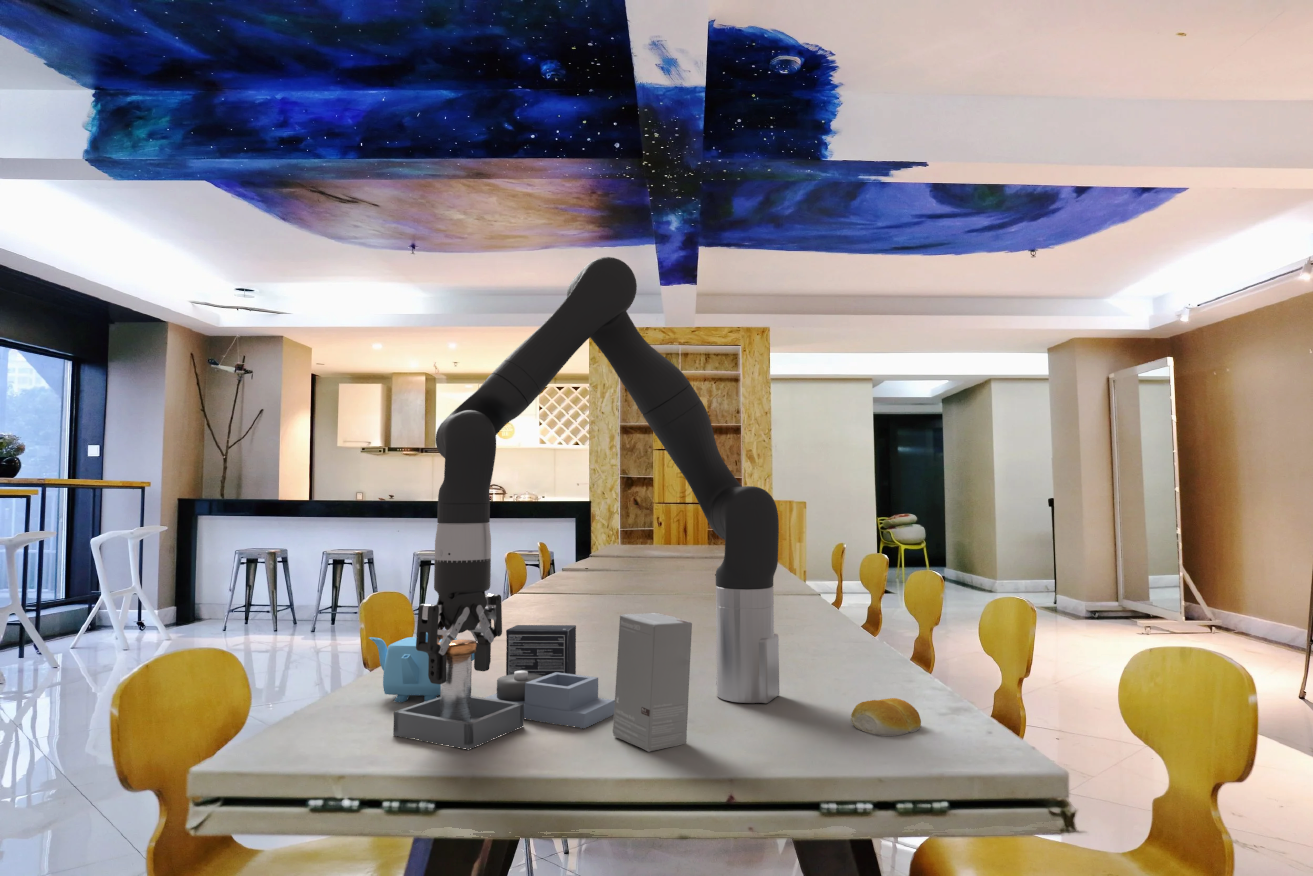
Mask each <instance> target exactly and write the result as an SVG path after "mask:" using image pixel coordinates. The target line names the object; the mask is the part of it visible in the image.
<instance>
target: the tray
mask: <svg viewBox="0 0 1313 876" xmlns="http://www.w3.org/2000/svg"><path fill="white" fill-rule="evenodd" d="M524 721H525V719H524V704H522V703H516V702H509V701H502V700H496V699H489V698H484V697H483V696H482V697H480V696H476V695H471V722H464V721H458V720H452V719H447V718H441V717H440V696H439V697H438V696H437V698H435V699H432V700H429V701H426V702H424V701H423V702H421V703H417V704H414V705H409V706H408V707H404V708H401V709H398V710H395V711H394V712H393V729H392V730H393V732H392V734H393V735H395V736H394V737H397V736H401V737H400V738H402V737H407V738H415V739H419V740H422V741H421V742H423V741H428V742H433V743H437V744H436V745H438V744H443V745H449V746H454V747H460V748H466V749H470V748H473V747H475V746H477V745H480V744H482V743H485V742H487V741H490V740H491V739H493V738H496V737H498V736H500V735H503V734H505V733H508V732H511V731H513V732H515V731H516V730H515V729H517V728H520V727H522V726H524V727H525V723H524ZM522 728H523V727H522ZM520 729H521V728H520ZM514 730H515V731H514ZM511 733H512V732H511ZM508 734H509V733H508ZM393 735H392V736H393ZM407 738H406V739H407ZM428 742H427V743H428ZM490 742H491V741H490ZM433 743H432V744H433ZM487 743H488V742H487ZM485 744H486V743H485ZM443 745H442V746H443ZM480 746H481V745H480ZM473 749H474V748H473Z"/></svg>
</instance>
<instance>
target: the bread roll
mask: <svg viewBox="0 0 1313 876" xmlns="http://www.w3.org/2000/svg"><path fill="white" fill-rule="evenodd" d="M850 716H851V717H850V722H851V723H852V725H853V727H854V728H856V729H857V730H860V731H862V732H865V733H868V734H870V735H876V736H885V737H887V736H889V737H890V736H891V737H894V736H902V735H905V734H907V733H910V734H911V733H914V732H917V731H918V730H919V729H921V726H922V725H921V724H922V720H921V716H920V714H919V712H918V710H917V709H916V708H915V707H914V706H913V705H912V704H911V703H909V702H908V701H906V700H903V699H901V698H897V697H891V698H883V699H872V700H866V701H861V702H858V704H856V705H855V707H854V708H853V710H852V712H851V715H850Z"/></svg>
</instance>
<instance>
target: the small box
mask: <svg viewBox="0 0 1313 876" xmlns="http://www.w3.org/2000/svg"><path fill="white" fill-rule="evenodd" d="M576 629H577V625H575V624H571V625H570V624H569V625H568V624H564V625H563V624H562V625H560V624H554V625H553V624H516V625H514V626H512V627H510V628H508V629H506V630H505V636H506V640H505V641H506V646H505V647H506V649H505V651H506V652H505V654H506V655H505V662H506V663H505V668H506V669H505V670H506V671H505V676H506V675H512V674H514V672H515V671H528V674H538V675H541V676H546V675H549V674H552V673H555V672H559V673H567V674H575V675H577V655H576V654H577V653H576V652H577V646H576V644H577V630H576Z"/></svg>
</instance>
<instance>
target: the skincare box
mask: <svg viewBox="0 0 1313 876" xmlns="http://www.w3.org/2000/svg"><path fill="white" fill-rule="evenodd" d="M692 629H693V623H692V622H691V621H689V620H685V619H682V618H678V617H677V616H673V615H666V614H662V613H658V612H648V613H647V612H646V613H624V614H620V615H619V627H618V643H617V656H616V657H617V658H616V659H617V660H616V672H615V673H616V676H615V688H614V689H615V692H614V693H615V694H614V700H615V706H614V715H613V723H612V724H613V726H612V734H613V737H615V738H616V739H620V740H622V741H624V742H627V743H629V744H631V745H633V746H636V747H639V748H640V749H643V750H645V751H647V752H650V753H651V752H654V751H658V750H662V749H667V748H672V747H673V748H674V747H677V746H681V745H685V744H687V741H688V740H687V736H688V732H687V731H688V719H689V718H688V714H689V693H690V691H689V690H690V673H691V672H690V669H691V652H692V649H691V647H692V635H693V634H692V633H693V631H692Z"/></svg>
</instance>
